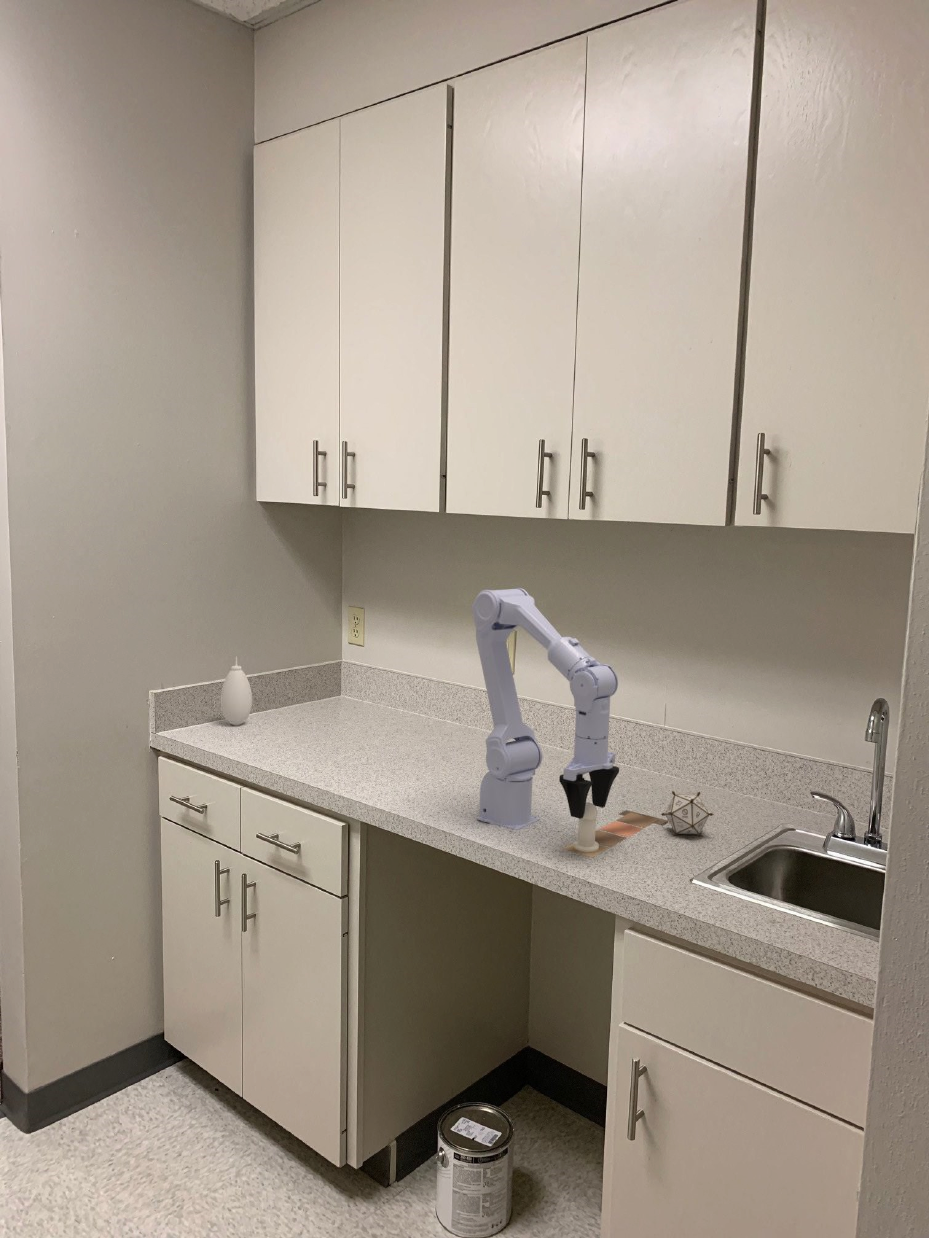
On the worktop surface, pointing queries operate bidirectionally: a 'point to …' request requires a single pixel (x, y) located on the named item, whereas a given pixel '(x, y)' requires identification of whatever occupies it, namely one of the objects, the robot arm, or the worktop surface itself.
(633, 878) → the worktop surface
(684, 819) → the game die
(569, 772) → the robot arm
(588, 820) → the pawn
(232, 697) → the air blower bulb
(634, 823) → the board
